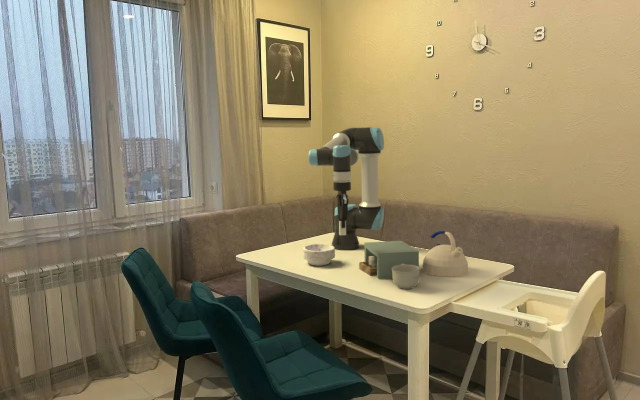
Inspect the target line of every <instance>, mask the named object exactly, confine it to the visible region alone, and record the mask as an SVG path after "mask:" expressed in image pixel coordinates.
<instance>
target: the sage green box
mask: <svg viewBox="0 0 640 400" xmlns="http://www.w3.org/2000/svg"><path fill="white" fill-rule="evenodd" d="M419 255H420V251H419V250H417V249H416V248H415V247H413V246H410V244H408V243H406V242H405V241H403V240H390V241H389V240H387V241H385V240H384V241H368V242H367V241H366V242H364V262H367V261H369V256H376V257H377V275H376V278H377V279H378V280H385V279H393V276H392V268H393V267H394V266H397V265H401V264H406V265H415V266H418V267H419V268H420V256H419Z"/></svg>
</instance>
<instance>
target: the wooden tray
mask: <svg viewBox="0 0 640 400" xmlns="http://www.w3.org/2000/svg"><path fill="white" fill-rule="evenodd" d="M358 263H359V264H358V269H359V270H360V271H362V272H363V273H365V274H367V275H369V276H370V277H371V276H372V277H373V276H377V257H376V256H369V261H367V262H365V261H360V262H358Z"/></svg>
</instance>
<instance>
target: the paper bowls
mask: <svg viewBox="0 0 640 400" xmlns="http://www.w3.org/2000/svg"><path fill="white" fill-rule="evenodd" d="M302 249H303V250H302V251H303V252H302V254H303V256H302V257H303V259H304V260H306V261H307V263H308V264H309V265H311V266H318V267H319V266H325V265H329V264H330V263H331V261H332V260H333V259H335V258H336V249H335V247H334V246H332V244H327V243H326V244H325V243H313V244H308V245H305V246H303V248H302Z"/></svg>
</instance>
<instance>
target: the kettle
mask: <svg viewBox="0 0 640 400" xmlns="http://www.w3.org/2000/svg"><path fill="white" fill-rule="evenodd" d="M441 234H442V235H443V234H444V235H446V236H447V237H448V239H449V241H450V244H440V243H436V246H434V247H432V248H430V249H429V250H428V251H427V253H426V254H425V255H424V258H423V261H422V269H421V270H422V271H423V273H426V274H428V275H430V276H431V275H432V276H437V277H444V278H445V277H447V278H452V277H453V278H454V277H456V278H457V277H461V276H466V275H467V274H468V273H469V261H468V260H467V259H468V258H467V257H466V255H465V254H464V249H463V248H462V247H460V246H457V247H456V240H455V236H453V234H452V233H451V232H449V231H447V230H439V231H435V232H433V234H432V235H431V236H430V238H432V239H435V238H436V237H437V236H439V235H441Z"/></svg>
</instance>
